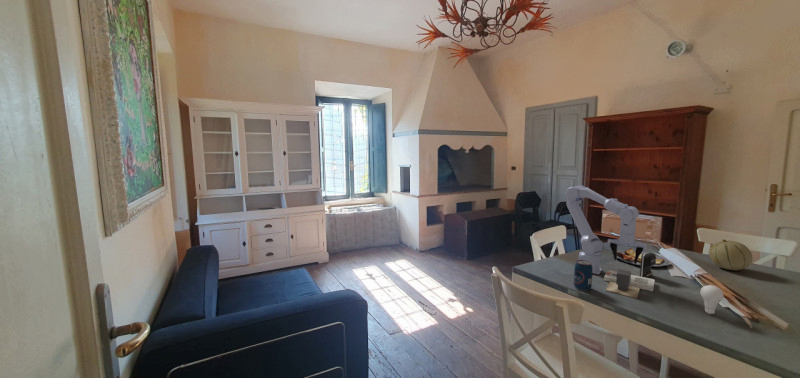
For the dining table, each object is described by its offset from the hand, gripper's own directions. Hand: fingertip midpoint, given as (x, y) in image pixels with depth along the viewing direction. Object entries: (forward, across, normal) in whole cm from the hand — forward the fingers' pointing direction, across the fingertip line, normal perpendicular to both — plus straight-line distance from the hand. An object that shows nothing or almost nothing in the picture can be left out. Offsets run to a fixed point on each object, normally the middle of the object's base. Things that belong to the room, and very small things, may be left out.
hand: (625, 261), depth 146 cm
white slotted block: (+9, +2, -1) cm, 10 cm away
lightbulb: (+10, +28, -16) cm, 34 cm away
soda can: (+10, -13, -21) cm, 26 cm away
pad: (+9, +1, -12) cm, 16 cm away
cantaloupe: (+10, +38, +48) cm, 62 cm away
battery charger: (+10, +8, +12) cm, 17 cm away
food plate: (+10, +3, +36) cm, 38 cm away
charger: (+9, +1, -12) cm, 15 cm away
